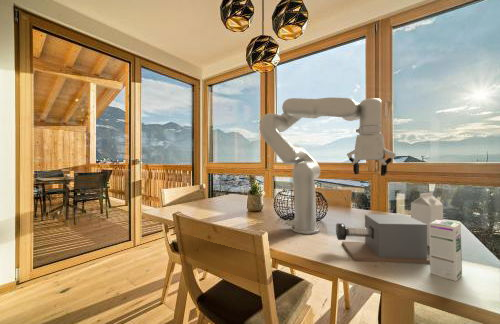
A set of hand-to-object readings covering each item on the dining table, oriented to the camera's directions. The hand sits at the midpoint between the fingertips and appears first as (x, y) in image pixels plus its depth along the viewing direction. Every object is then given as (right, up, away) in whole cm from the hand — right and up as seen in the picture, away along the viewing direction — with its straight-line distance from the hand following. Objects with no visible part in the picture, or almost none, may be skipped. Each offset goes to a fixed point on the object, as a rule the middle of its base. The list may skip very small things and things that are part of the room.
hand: (369, 174), depth 88 cm
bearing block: (-1, -26, -11) cm, 29 cm away
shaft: (-7, -22, -10) cm, 26 cm away
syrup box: (+8, -27, -25) cm, 38 cm away
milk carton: (+21, -26, -3) cm, 33 cm away
